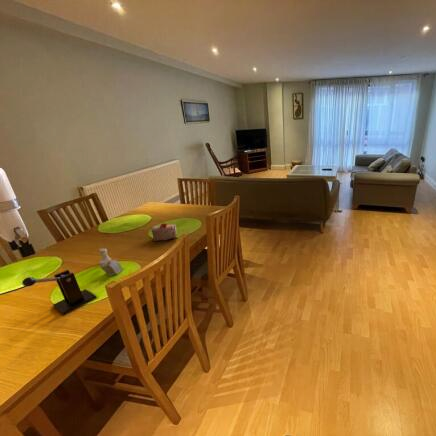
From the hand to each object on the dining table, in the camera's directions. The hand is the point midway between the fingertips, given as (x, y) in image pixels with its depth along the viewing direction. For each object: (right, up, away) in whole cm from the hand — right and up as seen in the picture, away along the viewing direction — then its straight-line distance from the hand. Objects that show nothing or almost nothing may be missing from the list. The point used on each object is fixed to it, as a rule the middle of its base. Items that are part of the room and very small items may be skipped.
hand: (23, 252), depth 84 cm
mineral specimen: (+7, -15, +32) cm, 37 cm away
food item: (+15, -1, +68) cm, 69 cm away
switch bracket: (+5, -23, +14) cm, 27 cm away
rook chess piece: (-3, -12, +42) cm, 44 cm away
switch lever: (+3, -13, +5) cm, 14 cm away
